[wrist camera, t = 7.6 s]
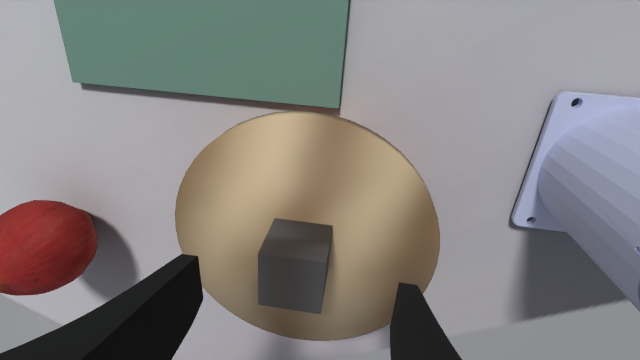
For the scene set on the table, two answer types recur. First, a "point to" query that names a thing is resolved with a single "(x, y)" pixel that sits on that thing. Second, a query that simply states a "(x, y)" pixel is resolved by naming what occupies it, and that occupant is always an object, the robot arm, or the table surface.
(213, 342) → the table surface
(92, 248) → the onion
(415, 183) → the lid
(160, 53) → the mat
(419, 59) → the table surface
